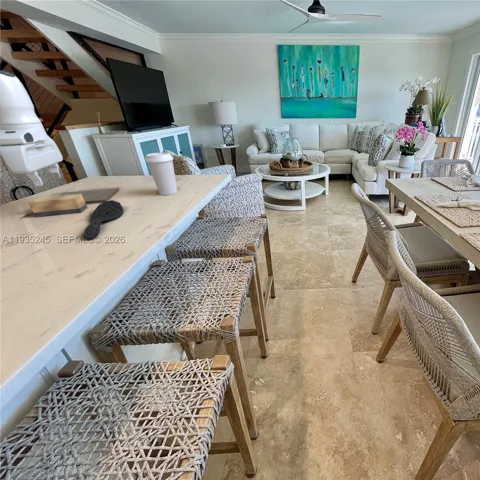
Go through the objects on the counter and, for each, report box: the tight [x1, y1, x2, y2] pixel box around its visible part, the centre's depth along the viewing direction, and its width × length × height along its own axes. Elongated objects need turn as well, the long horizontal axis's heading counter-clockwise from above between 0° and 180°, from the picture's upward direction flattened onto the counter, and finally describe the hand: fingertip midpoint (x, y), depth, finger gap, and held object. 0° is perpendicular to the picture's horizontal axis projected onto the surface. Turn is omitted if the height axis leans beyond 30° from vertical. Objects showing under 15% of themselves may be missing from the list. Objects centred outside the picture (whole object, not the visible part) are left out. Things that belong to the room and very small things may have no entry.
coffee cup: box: [144, 152, 178, 196], centre depth 103 cm, size 10×10×15 cm
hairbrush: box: [83, 199, 124, 241], centre depth 79 cm, size 8×4×25 cm
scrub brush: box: [27, 194, 88, 218], centre depth 86 cm, size 12×5×5 cm, turn 109°
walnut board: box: [57, 187, 120, 205], centre depth 100 cm, size 20×16×1 cm
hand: (49, 181), depth 83 cm, fingers open, 8 cm apart
